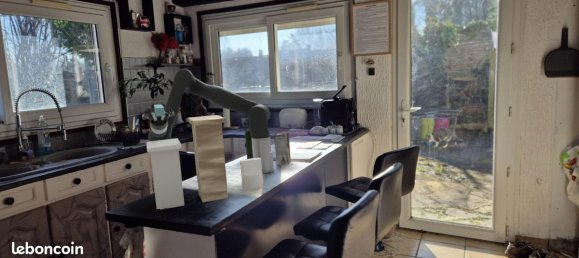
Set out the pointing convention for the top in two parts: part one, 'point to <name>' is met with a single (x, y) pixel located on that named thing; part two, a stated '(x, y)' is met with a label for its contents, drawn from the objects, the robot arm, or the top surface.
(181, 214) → the top surface
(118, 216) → the top surface
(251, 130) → the robot arm
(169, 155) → the white pedestal
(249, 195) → the top surface
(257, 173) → the cylinder with rectangular tab
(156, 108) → the teal bar
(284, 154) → the coffee box
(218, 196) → the birch stand
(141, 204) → the top surface
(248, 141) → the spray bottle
